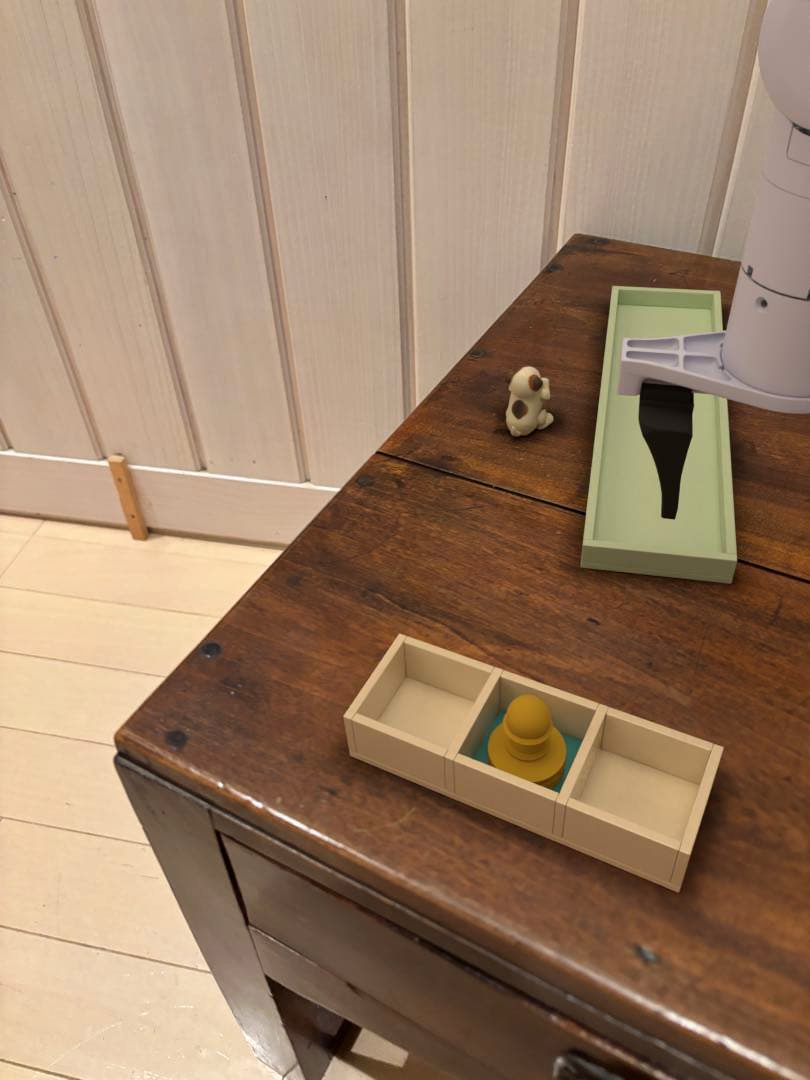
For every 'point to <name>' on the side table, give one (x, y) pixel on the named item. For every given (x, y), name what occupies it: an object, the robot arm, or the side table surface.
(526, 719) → the chess piece
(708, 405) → the tray
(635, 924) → the side table surface
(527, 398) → the toy dog
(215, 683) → the side table surface
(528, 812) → the three-compartment organizer
